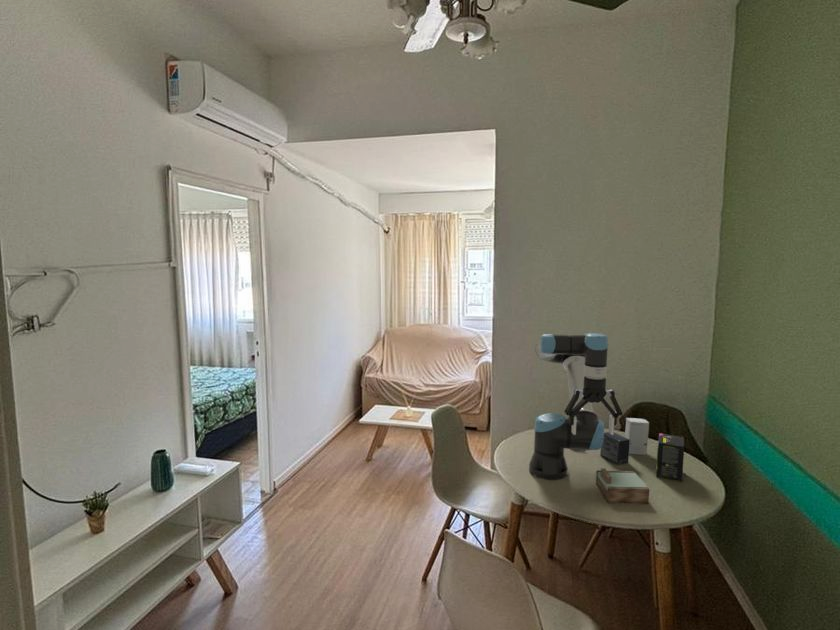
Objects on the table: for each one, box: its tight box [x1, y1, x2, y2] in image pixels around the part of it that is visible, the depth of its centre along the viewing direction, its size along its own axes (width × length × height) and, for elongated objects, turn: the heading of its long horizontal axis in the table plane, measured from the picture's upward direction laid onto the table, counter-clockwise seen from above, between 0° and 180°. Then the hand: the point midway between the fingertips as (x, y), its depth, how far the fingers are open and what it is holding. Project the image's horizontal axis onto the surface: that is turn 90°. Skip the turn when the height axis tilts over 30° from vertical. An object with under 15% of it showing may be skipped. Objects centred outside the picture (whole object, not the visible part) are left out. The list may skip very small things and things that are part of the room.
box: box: [595, 469, 650, 505], centre depth 176 cm, size 14×14×6 cm
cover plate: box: [597, 467, 649, 490], centre depth 175 cm, size 14×11×4 cm
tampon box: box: [655, 432, 685, 482], centre depth 191 cm, size 11×9×15 cm
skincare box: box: [624, 417, 650, 456], centre depth 212 cm, size 8×6×15 cm
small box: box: [599, 431, 630, 466], centre depth 205 cm, size 11×6×10 cm, turn 22°
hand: (592, 433), depth 174 cm, fingers open, 13 cm apart
